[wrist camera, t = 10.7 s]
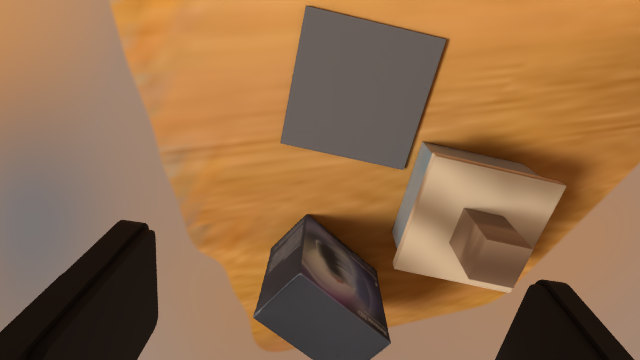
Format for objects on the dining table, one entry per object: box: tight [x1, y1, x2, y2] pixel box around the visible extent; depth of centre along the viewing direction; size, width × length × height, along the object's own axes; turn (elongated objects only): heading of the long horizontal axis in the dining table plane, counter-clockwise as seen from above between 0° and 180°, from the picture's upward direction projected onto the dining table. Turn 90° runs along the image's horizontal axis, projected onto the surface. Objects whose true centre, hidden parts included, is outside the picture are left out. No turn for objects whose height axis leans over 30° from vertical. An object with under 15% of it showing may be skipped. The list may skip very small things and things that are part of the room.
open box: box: [392, 142, 539, 249], centre depth 35 cm, size 10×10×5 cm
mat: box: [281, 6, 446, 170], centre depth 33 cm, size 12×12×1 cm
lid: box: [393, 152, 566, 293], centre depth 30 cm, size 11×11×6 cm
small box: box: [253, 214, 391, 360], centre depth 36 cm, size 11×6×10 cm, turn 48°
